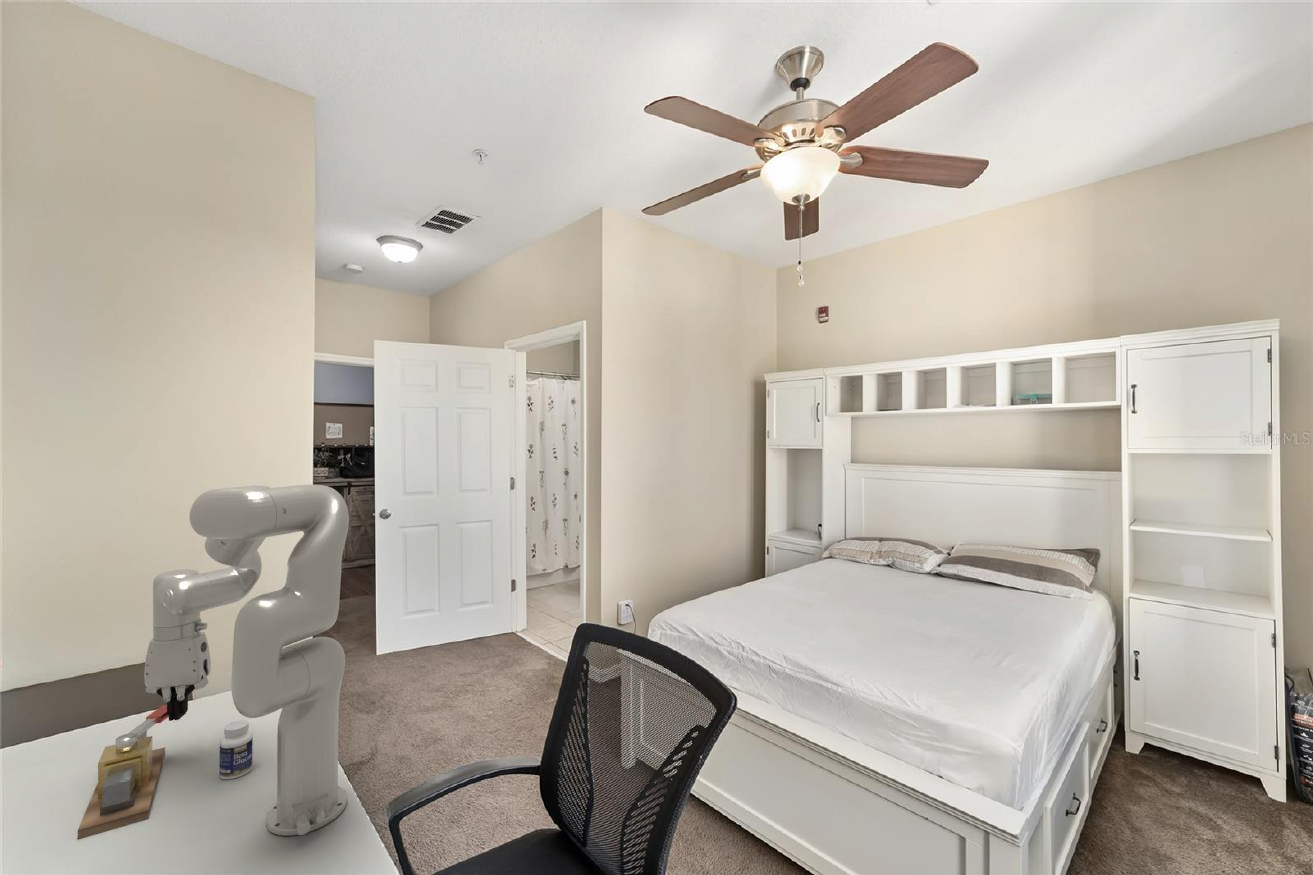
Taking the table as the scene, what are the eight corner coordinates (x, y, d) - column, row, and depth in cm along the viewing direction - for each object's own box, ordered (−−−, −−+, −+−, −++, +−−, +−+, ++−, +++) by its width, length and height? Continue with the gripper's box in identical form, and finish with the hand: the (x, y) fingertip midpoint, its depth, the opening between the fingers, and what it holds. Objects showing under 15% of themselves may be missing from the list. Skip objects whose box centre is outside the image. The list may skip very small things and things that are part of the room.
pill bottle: (234, 782, 112) (234, 733, 112) (212, 778, 113) (212, 730, 113) (259, 766, 117) (259, 719, 117) (237, 762, 118) (237, 716, 118)
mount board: (148, 818, 101) (148, 810, 101) (77, 839, 96) (77, 830, 96) (165, 754, 121) (165, 747, 121) (107, 768, 116) (107, 761, 116)
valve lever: (129, 751, 107) (129, 740, 107) (111, 752, 107) (111, 741, 106) (177, 714, 121) (177, 704, 121) (161, 715, 120) (161, 705, 120)
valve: (141, 806, 102) (141, 769, 102) (89, 821, 98) (89, 782, 98) (156, 753, 118) (157, 721, 118) (112, 764, 115) (112, 731, 114)
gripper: (227, 621, 124) (227, 705, 124) (146, 627, 120) (146, 712, 120) (209, 634, 116) (209, 722, 117) (122, 639, 113) (122, 731, 113)
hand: (177, 717), depth 119 cm, fingers closed
